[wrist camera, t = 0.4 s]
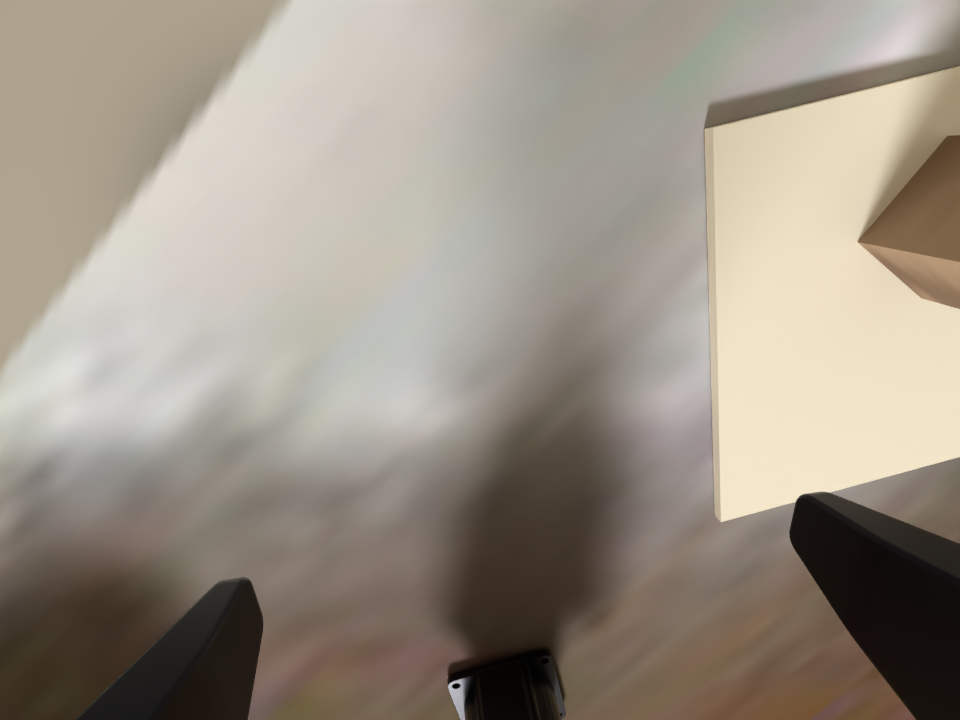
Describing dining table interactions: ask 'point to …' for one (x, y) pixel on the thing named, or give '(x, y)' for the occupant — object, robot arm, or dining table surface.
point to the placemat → (823, 299)
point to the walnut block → (924, 229)
